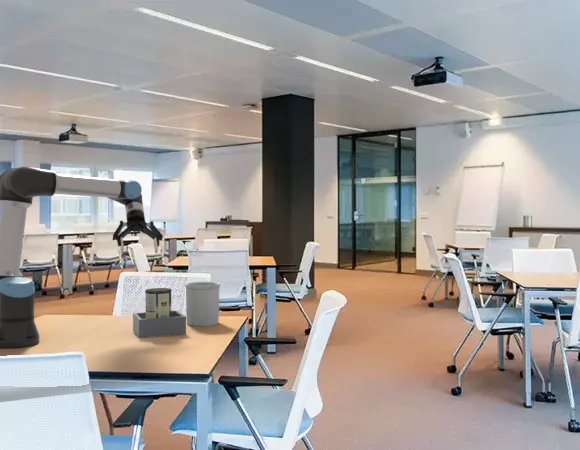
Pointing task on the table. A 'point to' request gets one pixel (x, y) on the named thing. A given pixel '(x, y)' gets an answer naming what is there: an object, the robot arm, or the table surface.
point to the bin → (159, 325)
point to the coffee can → (158, 302)
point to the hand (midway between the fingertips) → (139, 251)
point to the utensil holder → (202, 303)
